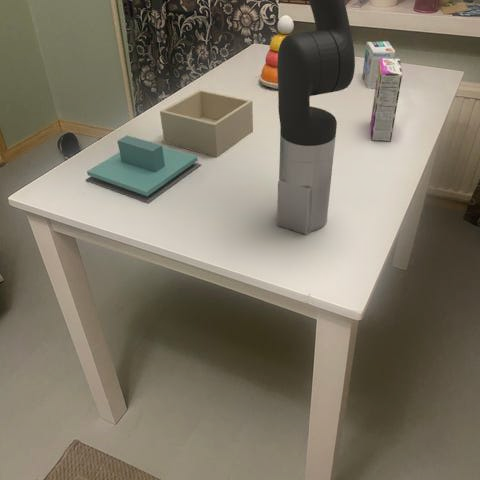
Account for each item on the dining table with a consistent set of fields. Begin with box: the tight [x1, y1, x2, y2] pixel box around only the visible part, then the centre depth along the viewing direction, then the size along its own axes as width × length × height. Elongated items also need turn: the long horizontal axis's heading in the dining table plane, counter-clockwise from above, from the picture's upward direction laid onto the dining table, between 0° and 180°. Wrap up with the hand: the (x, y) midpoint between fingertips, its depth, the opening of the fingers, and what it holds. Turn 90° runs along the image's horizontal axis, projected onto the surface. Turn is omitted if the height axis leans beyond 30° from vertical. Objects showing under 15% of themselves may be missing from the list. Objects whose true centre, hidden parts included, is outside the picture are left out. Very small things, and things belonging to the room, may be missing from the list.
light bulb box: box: [361, 40, 396, 89], centre depth 141 cm, size 11×7×11 cm, turn 178°
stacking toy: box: [258, 14, 295, 90], centre depth 140 cm, size 14×14×20 cm
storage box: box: [159, 89, 254, 158], centre depth 116 cm, size 16×16×8 cm
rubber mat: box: [85, 162, 202, 204], centre depth 104 cm, size 18×18×1 cm
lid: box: [86, 134, 199, 196], centre depth 102 cm, size 17×17×7 cm
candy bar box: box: [370, 58, 403, 143], centre depth 112 cm, size 11×5×16 cm, turn 168°
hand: (144, 14), depth 100 cm, fingers open, 8 cm apart
